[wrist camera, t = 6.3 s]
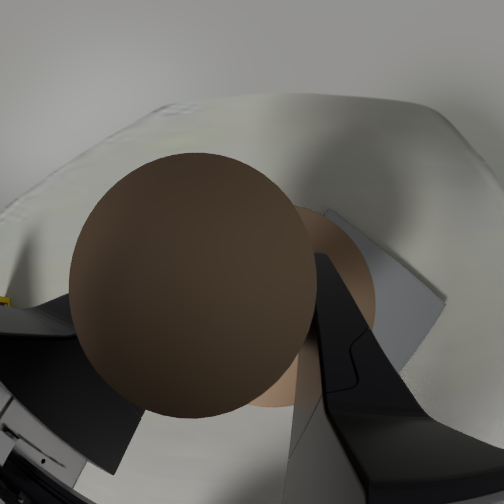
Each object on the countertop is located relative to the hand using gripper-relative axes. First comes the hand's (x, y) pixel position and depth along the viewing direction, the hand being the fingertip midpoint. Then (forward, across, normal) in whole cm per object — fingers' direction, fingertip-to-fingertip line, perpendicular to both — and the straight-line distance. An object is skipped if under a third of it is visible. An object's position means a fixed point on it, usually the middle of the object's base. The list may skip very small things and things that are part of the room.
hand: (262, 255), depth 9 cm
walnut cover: (+3, 0, +5) cm, 6 cm away
